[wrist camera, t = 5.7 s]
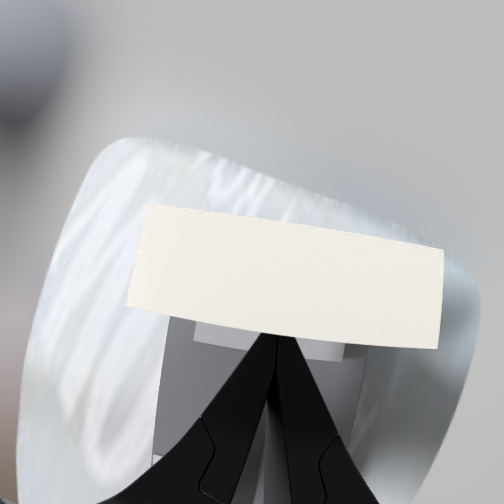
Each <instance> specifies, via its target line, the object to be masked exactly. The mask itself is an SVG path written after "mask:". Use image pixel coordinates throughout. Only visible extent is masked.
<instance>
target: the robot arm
mask: <svg viewBox="0 0 504 504" xmlns="http://www.w3.org/2000/svg"><path fill="white" fill-rule="evenodd" d="M265 403H266V426H265V469H264V502H263V504H379V502H378V501H377V499H376V498H375V496H374V495H373V493H372V492H371V490H370V489H369V487H368V485H367V484H366V482H365V481H364V479H363V478H362V476H361V474H360V473H359V471H358V469H357V467H356V466H355V464H354V462H353V460H352V459H351V457H350V455H349V453H348V451H347V449H346V447H345V444H344V442H343V440H342V438H341V436H340V435H339V434H338V433H339V432H338V429H337V427H336V425H335V423H334V421H333V418H332V416H331V414H330V412H329V410H328V407H327V405H326V403H325V401H324V399H323V397H322V394H321V392H320V390H319V388H318V386H317V384H316V381H315V379H314V377H313V375H312V373H311V370H310V368H309V366H308V364H307V362H306V360H305V357H304V355H303V353H302V351H301V349H300V347H299V344H298V342H297V340H296V338H295V337H291V336H283V335H276V334H269V333H263V332H261V333H260V334H259V336H258V337H257V339H256V340H255V341H254V343H253V344H252V346H251V347H250V349H249V350H248V351H247V353H246V354H245V355H244V357H243V358H242V360H241V361H240V362H239V364H238V365H237V367H236V368H235V369H234V371H233V372H232V373H231V375H230V376H229V377H228V379H227V380H226V382H225V383H224V384H223V386H222V387H221V388H220V390H219V391H218V392H217V394H216V395H215V396H214V398H213V399H212V400H211V401H210V403H209V404H208V405H207V407H206V408H205V409H204V411H203V412H202V413H201V415H200V417H198V418H197V419H196V421H195V422H194V423H193V425H192V426H191V427H190V428H189V429H188V431H187V432H186V433H185V434H184V435H183V436H182V438H181V439H180V440H179V441H178V442H177V443H176V444H175V445H174V446H173V447H172V448H171V449H170V450H169V451H168V452H167V453H166V454H165V455H164V456H163V457H162V458H161V459H160V460H158V461H157V462H156V463H155V464H154V465H153V466H152V467H151V468H149V469H148V470H147V471H146V472H145V473H144V474H142V475H141V476H140V477H139V478H138V479H137V480H135V481H134V482H133V483H132V484H131V485H129V486H128V487H127V488H125V489H124V490H122V491H121V492H119V493H118V494H116V495H115V496H113V497H111V498H109V499H107V500H104V501H102V502H100V503H97V504H233V501H234V498H235V495H236V492H237V490H238V487H239V484H240V481H241V478H242V475H243V472H244V469H245V466H246V463H247V460H248V457H249V454H250V451H251V448H252V445H253V442H254V439H255V436H256V433H257V430H258V426H259V423H260V420H261V417H262V413H263V410H264V407H265ZM0 504H16V503H14V502H12V501H9V500H7V499H4V498H2V497H1V496H0Z"/></svg>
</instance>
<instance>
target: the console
mask: <svg viewBox="0 0 504 504" xmlns="http://www.w3.org/2000/svg"><path fill="white" fill-rule="evenodd" d="M195 327H196V321H194V320H189V319H184V318H179V317H174V316H170V320H169V326H168V332H167V338H166V345H165V351H164V358H163V365H162V372H161V379H160V386H159V394H158V402H157V411H156V420H155V429H154V439H153V450H152V463H151V467H152V466H153V465H154V464H155V463H156V462H157V461H158V460H160V459H161V458H162V457H163V456H164V455H165V454H166V453H167V452H168V451H169V450H170V449H171V448H172V447H173V446H174V445H175V444H176V443H177V442H178V441H179V440H180V439H181V438H182V436H183V435H184V434H185V433H186V432H187V431H188V429H189V428H190V427H191V426H192V425H193V423H194V422H195V421H196V419H197V418H198V417H200V415H201V413H202V412H203V411H204V409H205V408H206V407H207V405H208V404H209V403H210V401H211V400H212V399H213V398H214V396H215V395H216V394H217V392H218V391H219V390H220V388H221V387H222V386H223V384H224V383H225V382H226V380H227V379H228V377H229V376H230V375H231V373H232V372H233V371H234V369H235V368H236V367H237V365H238V364H239V362H240V361H241V360H242V358H243V357H244V355H245V354H246V353H247V351H248V350H242V349H236V348H230V347H224V346H219V345H214V344H208V343H203V342H198V341H193V339H194V333H195ZM367 348H368V345H363V344H352V343H345V347H344V354H343V360H342V362H334V361H324V360H315V359H306V358H305V360H306V362H307V364H308V366H309V368H310V370H311V373H312V375H313V377H314V379H315V381H316V384H317V386H318V388H319V390H320V392H321V394H322V397H323V399H324V401H325V403H326V405H327V407H328V410H329V412H330V414H331V416H332V418H333V421H334V423H335V425H336V427H337V429H338V432H339V433H338V434H339V435H340V436H341V438H342V440H343V442H344V444H345V447H346V449H347V445H348V442H349V438H350V434H351V430H352V425H353V421H354V417H355V413H356V408H357V403H358V399H359V394H360V389H361V383H362V378H363V373H364V367H365V361H366V355H367ZM265 426H266V403H265V407H264V410H263V413H262V417H261V420H260V423H259V426H258V430H257V433H256V436H255V439H254V442H253V445H252V448H251V451H250V454H249V457H248V460H247V463H246V466H245V469H244V472H243V475H242V478H241V481H240V484H239V487H238V490H237V492H236V495H235V498H234V501H233V504H263V502H264V469H265Z"/></svg>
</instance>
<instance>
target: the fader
mask: <svg viewBox="0 0 504 504" xmlns="http://www.w3.org/2000/svg"><path fill="white" fill-rule="evenodd" d="M443 273H444V250H442V249H437V248H432V247H427V246H422V245H417V244H411V243H406V242H401V241H395V240H390V239H384V238H379V237H373V236H368V235H362V234H356V233H350V232H345V231H339V230H333V229H327V228H320V227H314V226H308V225H302V224H295V223H289V222H282V221H276V220H269V219H262V218H255V217H248V216H241V215H234V214H226V213H219V212H211V211H204V210H196V209H188V208H180V207H172V206H163V205H155V204H148V208H147V212H146V216H145V219H144V223H143V227H142V231H141V235H140V239H139V243H138V248H137V252H136V256H135V261H134V265H133V270H132V275H131V280H130V285H129V290H128V295H127V300H126V306H129V307H134V308H138V309H142V310H147V311H151V312H155V313H160V314H165V315H169V316H174V317H179V318H184V319H189V320H194V321H196V327H195V333H194V339H193V341H198V342H203V343H208V344H214V345H219V346H224V347H230V348H236V349H242V350H249V349H250V347H251V346H252V344H253V343H254V341H255V340H256V339H257V337H258V336H259V334H260V333H261V332H263V333H269V334H276V335H283V336H291V337H295V338H296V340H297V342H298V344H299V347H300V349H301V351H302V353H303V355H304V357H305V358H306V359H315V360H324V361H334V362H342V360H343V354H344V347H345V343H352V344H363V345H375V346H389V347H404V348H424V349H437V348H438V340H439V332H440V322H441V311H442V296H443Z"/></svg>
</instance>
